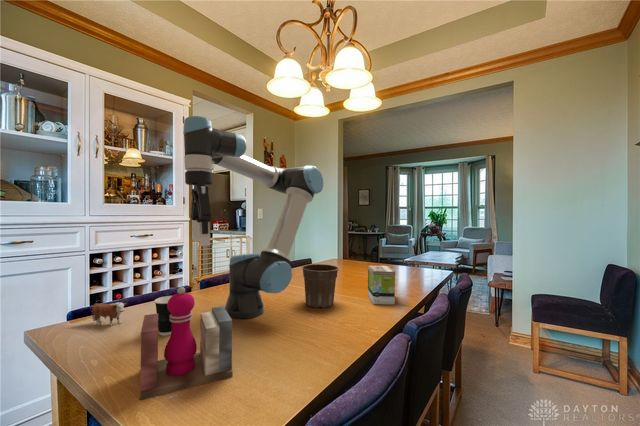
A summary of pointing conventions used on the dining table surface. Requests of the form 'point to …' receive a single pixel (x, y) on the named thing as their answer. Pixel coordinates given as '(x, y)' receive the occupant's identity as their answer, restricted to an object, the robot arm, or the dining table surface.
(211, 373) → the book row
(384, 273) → the tea box
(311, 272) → the plant pot
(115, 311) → the bull figurine
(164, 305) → the dixie cup
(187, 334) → the pepper mill
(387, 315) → the dining table surface
